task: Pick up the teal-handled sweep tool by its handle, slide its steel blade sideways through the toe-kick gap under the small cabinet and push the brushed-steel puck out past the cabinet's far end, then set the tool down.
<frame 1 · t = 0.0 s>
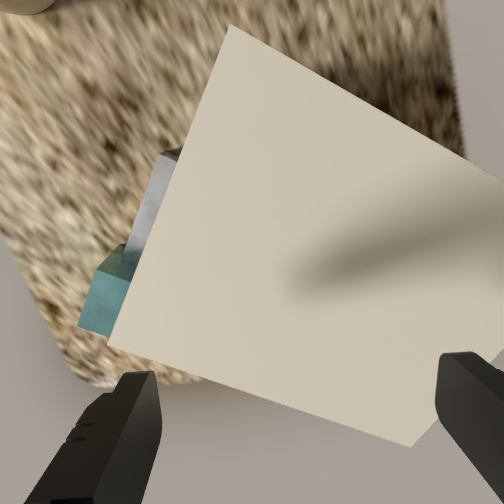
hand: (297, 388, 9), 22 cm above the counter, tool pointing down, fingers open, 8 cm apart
cabinet: (288, 202, 30), on the counter
tool: (127, 276, 32), on the counter
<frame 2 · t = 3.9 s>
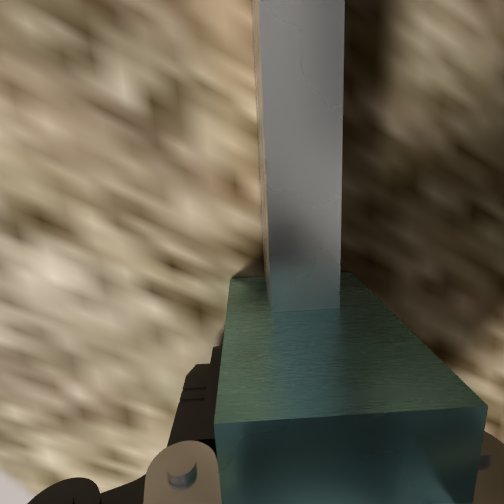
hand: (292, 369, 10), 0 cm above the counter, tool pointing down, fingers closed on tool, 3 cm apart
tool: (292, 365, 10), on the counter, touching gripper
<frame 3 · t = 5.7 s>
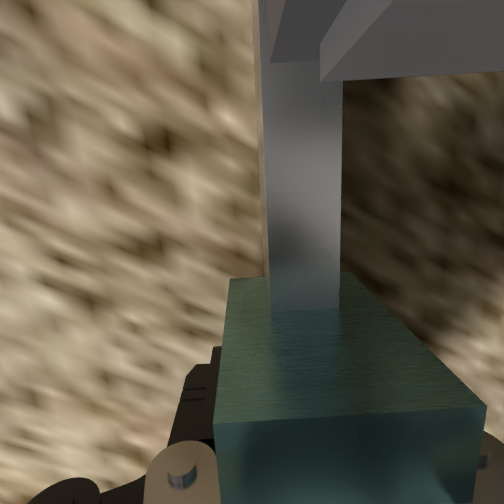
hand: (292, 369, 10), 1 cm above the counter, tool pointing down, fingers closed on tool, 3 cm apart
tool: (292, 365, 10), point 1 cm above the counter, touching gripper
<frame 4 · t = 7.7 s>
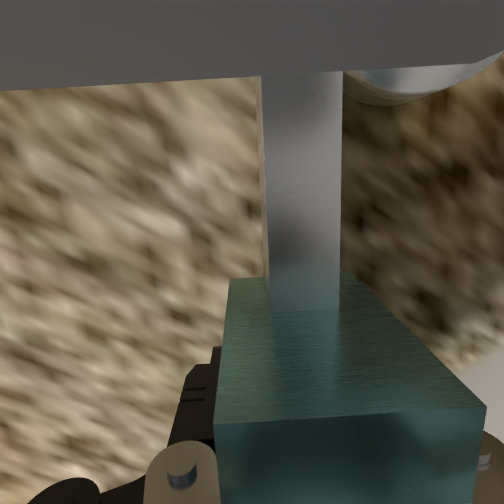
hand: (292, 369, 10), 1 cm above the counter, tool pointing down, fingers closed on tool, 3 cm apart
tool: (292, 365, 10), point 1 cm above the counter, touching gripper, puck
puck: (393, 8, 9), on the counter, touching tool
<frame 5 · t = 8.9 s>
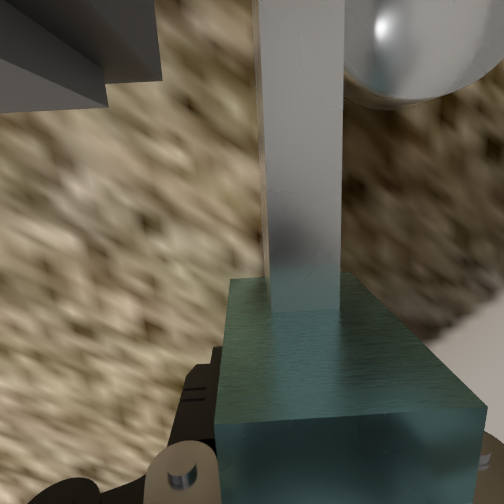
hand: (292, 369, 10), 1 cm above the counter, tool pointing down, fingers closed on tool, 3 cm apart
tool: (292, 365, 10), point 1 cm above the counter, touching gripper
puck: (393, 15, 9), on the counter
when the fingers open (1 cm above the counter, at t = 9.8 s): tool stays where it is, on the counter.
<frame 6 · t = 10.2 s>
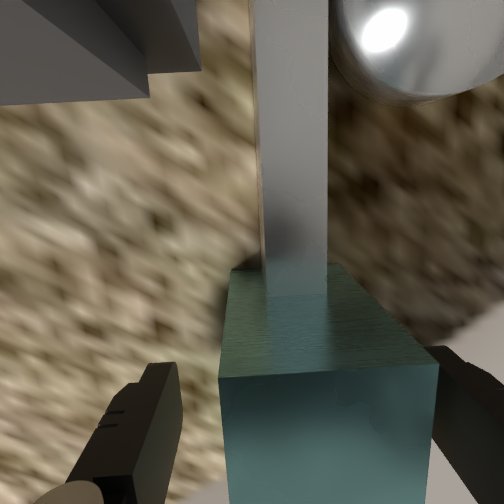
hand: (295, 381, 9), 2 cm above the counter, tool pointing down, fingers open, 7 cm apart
tool: (287, 349, 11), on the counter
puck: (410, 10, 9), on the counter
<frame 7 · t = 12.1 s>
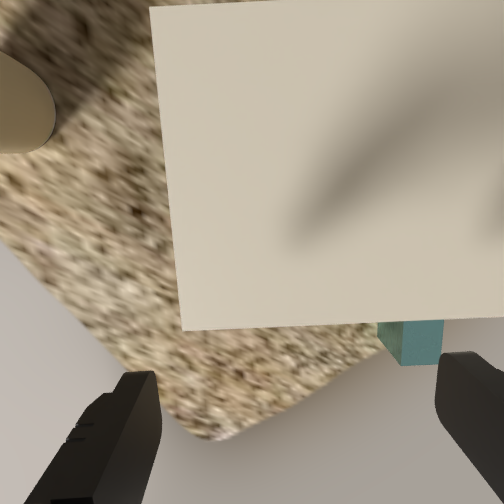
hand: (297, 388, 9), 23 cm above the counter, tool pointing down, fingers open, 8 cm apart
cabinet: (302, 180, 31), on the counter
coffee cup: (15, 109, 29), on the counter
tool: (395, 309, 34), on the counter
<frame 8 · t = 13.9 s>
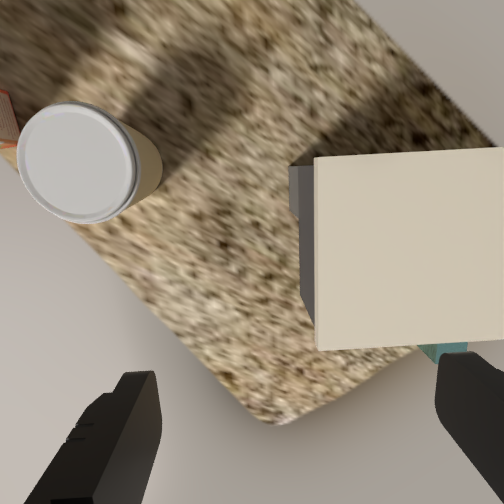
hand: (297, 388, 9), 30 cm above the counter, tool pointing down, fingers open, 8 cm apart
cabinet: (356, 219, 38), on the counter
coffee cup: (129, 166, 37), on the counter
tool: (426, 318, 42), on the counter
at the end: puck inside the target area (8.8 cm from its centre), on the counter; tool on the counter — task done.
